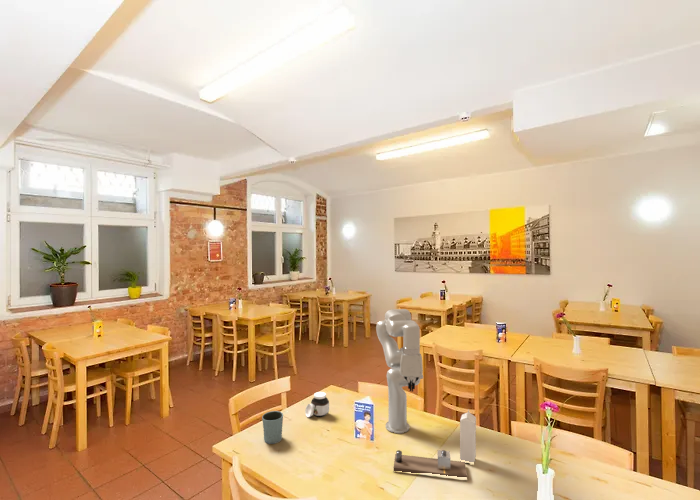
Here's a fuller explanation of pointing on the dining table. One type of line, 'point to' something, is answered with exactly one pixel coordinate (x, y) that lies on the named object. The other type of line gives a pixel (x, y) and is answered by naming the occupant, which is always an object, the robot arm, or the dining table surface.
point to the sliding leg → (443, 459)
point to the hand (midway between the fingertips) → (411, 390)
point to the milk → (468, 437)
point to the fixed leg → (399, 456)
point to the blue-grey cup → (272, 426)
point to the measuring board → (429, 466)
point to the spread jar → (318, 405)
